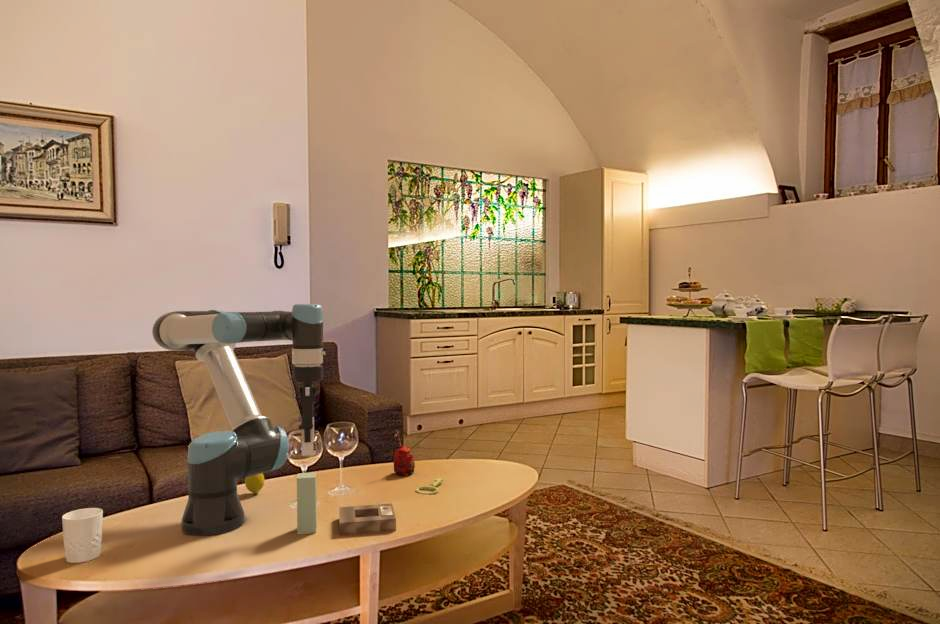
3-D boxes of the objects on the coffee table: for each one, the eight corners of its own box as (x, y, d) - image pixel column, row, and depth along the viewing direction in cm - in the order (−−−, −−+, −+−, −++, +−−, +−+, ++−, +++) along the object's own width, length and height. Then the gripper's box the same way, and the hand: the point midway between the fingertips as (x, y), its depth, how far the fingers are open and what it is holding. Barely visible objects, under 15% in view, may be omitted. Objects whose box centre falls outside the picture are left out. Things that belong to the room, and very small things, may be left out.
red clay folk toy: (410, 477, 203) (409, 432, 203) (389, 476, 205) (389, 431, 205) (417, 471, 211) (416, 427, 210) (397, 470, 212) (397, 426, 212)
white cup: (54, 561, 139) (53, 516, 139) (88, 548, 146) (87, 506, 146) (78, 566, 136) (77, 521, 136) (111, 553, 143) (110, 510, 143)
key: (443, 483, 197) (443, 477, 197) (437, 496, 185) (437, 489, 185) (421, 483, 198) (421, 476, 198) (413, 495, 186) (413, 488, 186)
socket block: (339, 535, 154) (339, 521, 154) (339, 518, 165) (339, 505, 165) (396, 530, 156) (395, 517, 156) (392, 514, 168) (392, 502, 168)
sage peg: (297, 534, 154) (296, 478, 154) (298, 527, 159) (298, 473, 158) (315, 532, 155) (315, 477, 155) (316, 526, 160) (316, 472, 159)
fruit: (248, 491, 189) (248, 465, 189) (266, 490, 190) (266, 464, 189) (242, 496, 184) (242, 470, 184) (261, 496, 184) (261, 469, 184)
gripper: (323, 370, 145) (323, 460, 146) (323, 359, 170) (323, 436, 170) (289, 371, 144) (290, 462, 144) (294, 360, 168) (295, 438, 169)
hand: (308, 448), depth 157 cm, fingers open, 13 cm apart
